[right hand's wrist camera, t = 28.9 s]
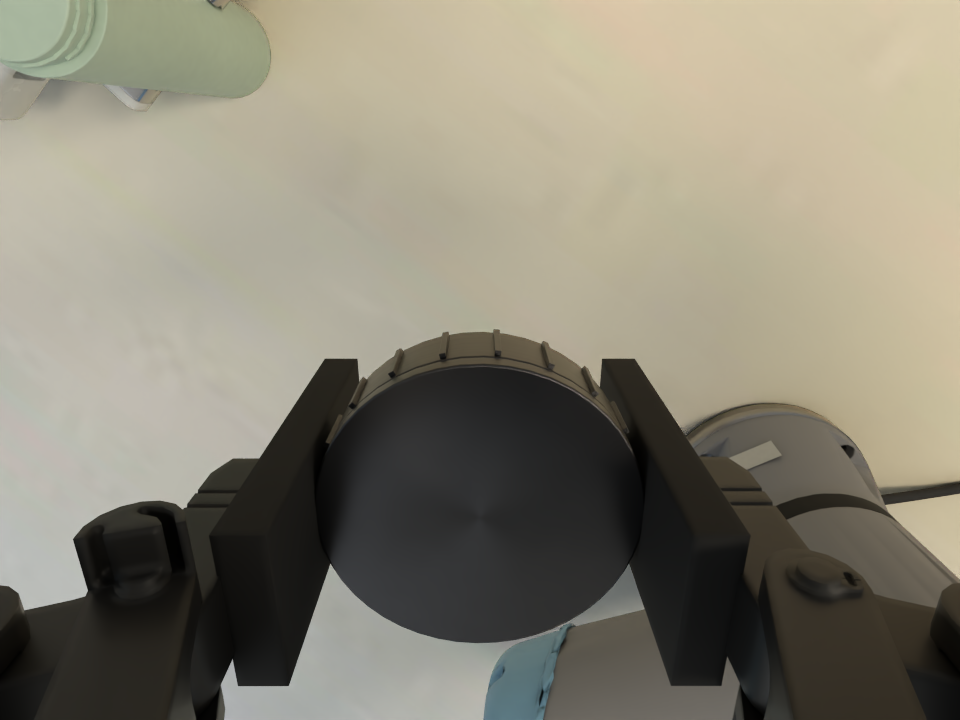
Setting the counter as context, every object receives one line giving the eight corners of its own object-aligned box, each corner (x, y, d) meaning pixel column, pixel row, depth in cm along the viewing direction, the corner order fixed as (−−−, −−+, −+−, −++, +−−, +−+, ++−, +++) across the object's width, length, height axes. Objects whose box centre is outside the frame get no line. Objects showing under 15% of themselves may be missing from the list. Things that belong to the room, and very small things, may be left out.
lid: (280, 391, 12) (249, 432, 10) (574, 282, 11) (590, 308, 9) (404, 615, 14) (394, 679, 12) (660, 537, 13) (685, 594, 11)
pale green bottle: (288, 62, 35) (115, 6, 19) (225, 116, 36) (6, 108, 20) (228, -20, 34) (-19, -163, 17) (163, 38, 35) (-130, -43, 18)
